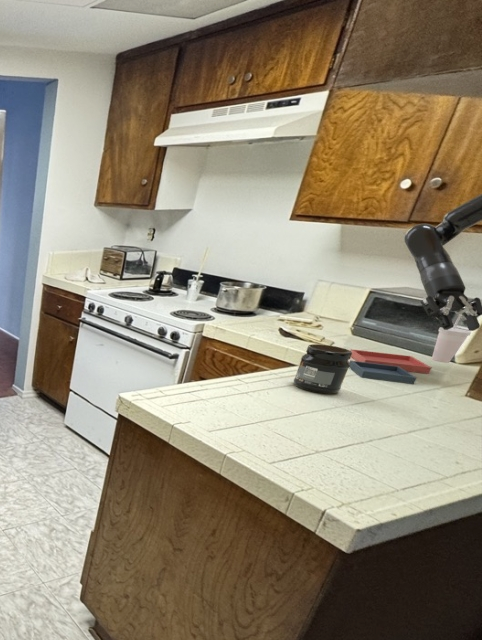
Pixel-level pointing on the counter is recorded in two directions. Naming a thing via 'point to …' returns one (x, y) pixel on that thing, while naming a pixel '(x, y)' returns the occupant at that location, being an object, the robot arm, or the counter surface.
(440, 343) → the smoothie
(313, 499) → the counter surface
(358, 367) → the slate tray
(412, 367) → the rose tray
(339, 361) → the supplement container
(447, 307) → the robot arm
